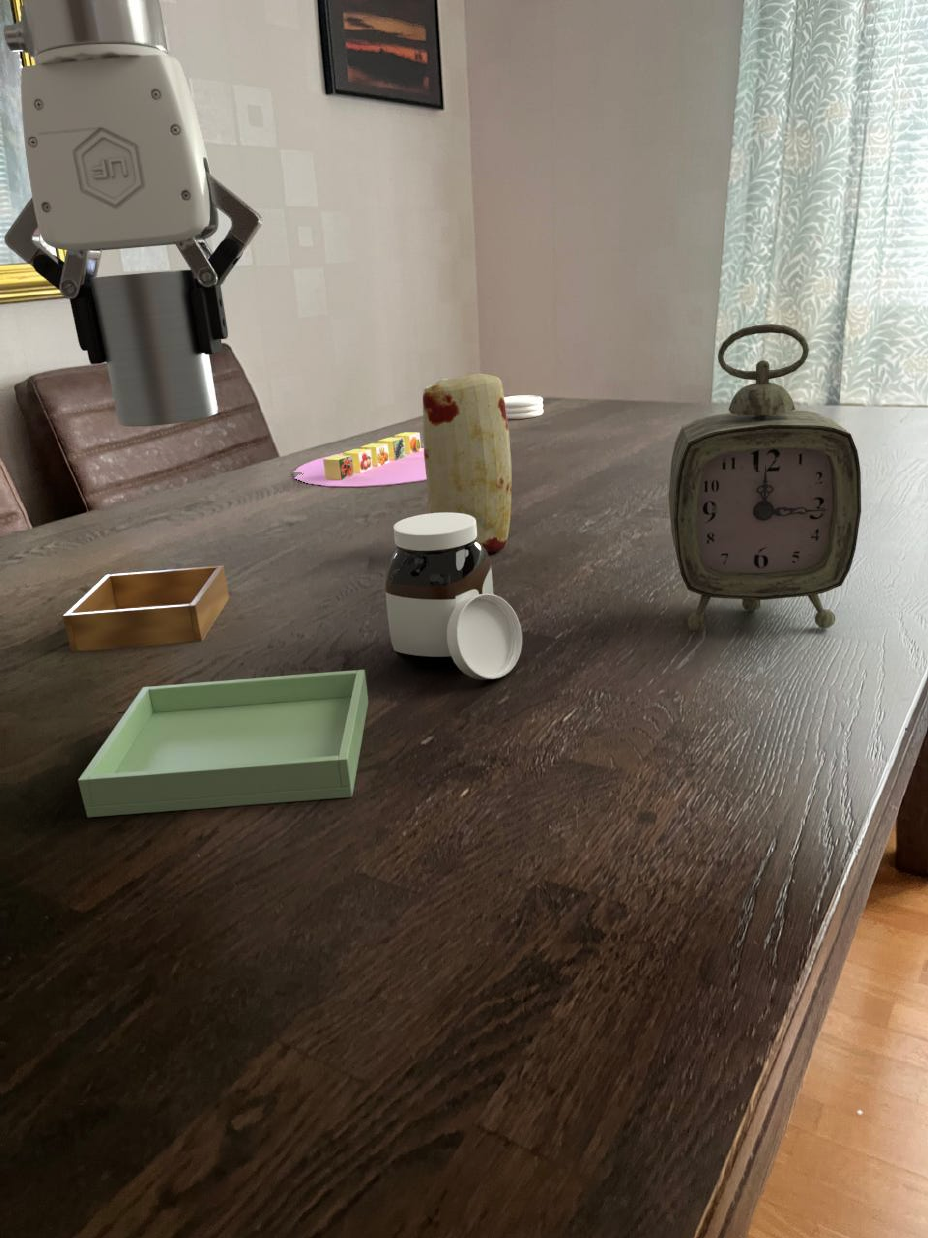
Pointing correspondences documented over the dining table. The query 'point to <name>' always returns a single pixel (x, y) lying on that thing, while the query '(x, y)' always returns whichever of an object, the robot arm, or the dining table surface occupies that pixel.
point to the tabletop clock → (764, 496)
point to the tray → (231, 745)
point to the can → (153, 348)
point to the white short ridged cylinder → (523, 406)
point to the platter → (370, 464)
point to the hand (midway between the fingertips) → (157, 354)
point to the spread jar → (448, 599)
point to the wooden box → (147, 609)
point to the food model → (469, 453)
